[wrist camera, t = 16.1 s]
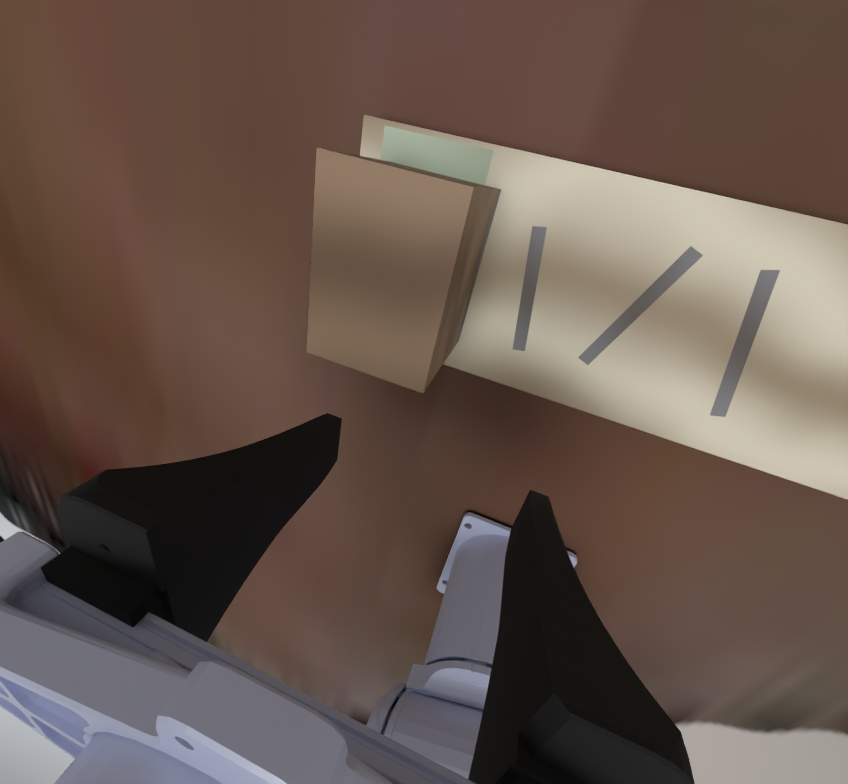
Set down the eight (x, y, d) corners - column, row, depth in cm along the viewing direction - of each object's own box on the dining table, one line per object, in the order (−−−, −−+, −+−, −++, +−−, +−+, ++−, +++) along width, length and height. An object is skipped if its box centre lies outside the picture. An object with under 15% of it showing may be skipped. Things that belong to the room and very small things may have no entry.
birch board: (886, 497, 18) (911, 520, 16) (354, 322, 22) (342, 330, 21) (1135, 293, 13) (1199, 304, 11) (378, 120, 17) (363, 114, 16)
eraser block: (458, 341, 19) (422, 393, 14) (370, 312, 20) (306, 352, 15) (501, 189, 16) (473, 186, 11) (391, 161, 16) (316, 147, 11)
